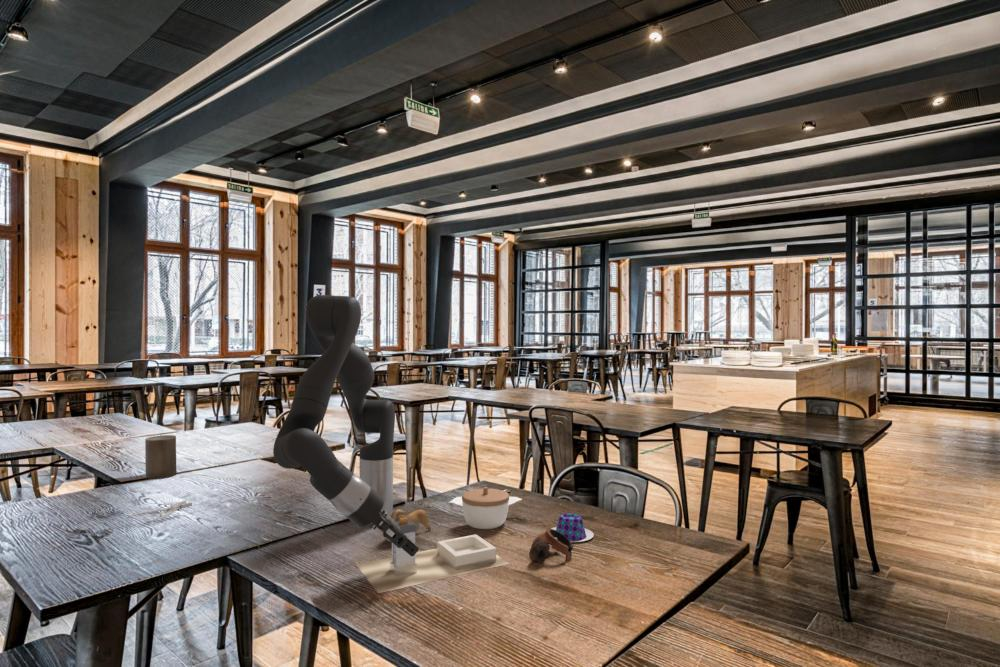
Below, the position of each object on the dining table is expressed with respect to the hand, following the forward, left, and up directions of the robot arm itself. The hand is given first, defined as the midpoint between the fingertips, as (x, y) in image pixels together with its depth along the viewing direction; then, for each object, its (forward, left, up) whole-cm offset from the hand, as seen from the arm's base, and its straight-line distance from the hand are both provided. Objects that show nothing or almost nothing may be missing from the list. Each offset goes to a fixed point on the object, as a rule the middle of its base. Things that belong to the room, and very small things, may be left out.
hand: (412, 548), depth 128 cm
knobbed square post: (0, -2, -5) cm, 5 cm away
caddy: (0, +13, -5) cm, 14 cm away
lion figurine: (-21, +8, -6) cm, 23 cm away
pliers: (-75, -47, -7) cm, 89 cm away
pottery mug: (+8, +30, -6) cm, 31 cm away
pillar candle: (-123, -48, -6) cm, 132 cm away
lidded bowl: (-19, +28, -6) cm, 34 cm away
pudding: (-4, +45, -7) cm, 46 cm away
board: (-1, +5, -6) cm, 8 cm away
